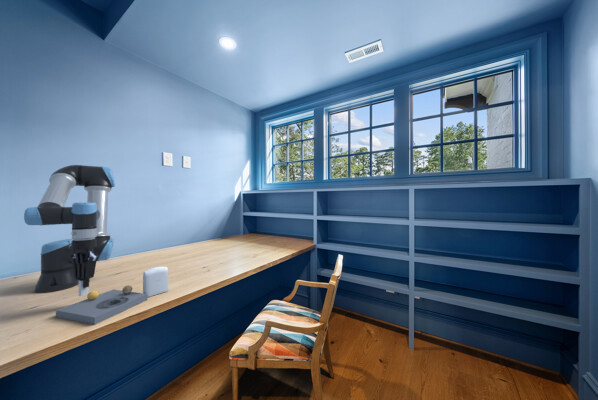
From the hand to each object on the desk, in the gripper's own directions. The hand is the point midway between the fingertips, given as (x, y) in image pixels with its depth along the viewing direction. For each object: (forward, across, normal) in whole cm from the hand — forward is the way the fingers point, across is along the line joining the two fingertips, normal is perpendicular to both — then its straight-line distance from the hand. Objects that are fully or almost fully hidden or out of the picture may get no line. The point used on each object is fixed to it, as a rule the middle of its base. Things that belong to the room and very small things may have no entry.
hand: (83, 294), depth 91 cm
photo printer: (+4, +20, +16) cm, 26 cm away
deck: (+4, +12, 0) cm, 13 cm away
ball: (0, +5, 0) cm, 5 cm away
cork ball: (0, +13, +8) cm, 15 cm away
